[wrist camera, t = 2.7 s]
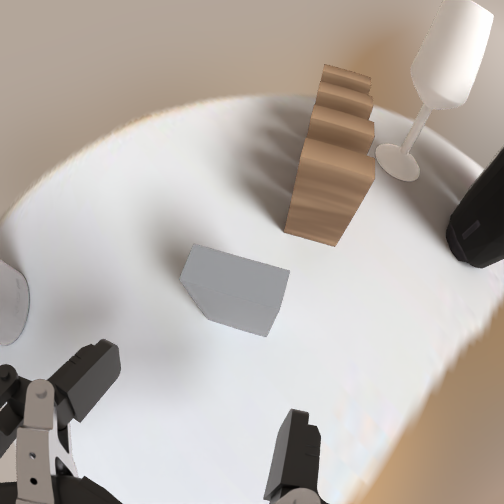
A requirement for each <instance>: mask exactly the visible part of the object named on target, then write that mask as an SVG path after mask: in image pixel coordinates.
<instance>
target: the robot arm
mask: <svg viewBox="0 0 504 504" xmlns="http://www.w3.org/2000/svg"><path fill="white" fill-rule="evenodd" d="M28 310H29V291H28V285H27V283H26V280H25V278H24V276H23V275H22V274H21V273H20V272H19V271H17V270H16V269H14V268H13V267H11V266H10V265H8V264H7V263H5V262H4V261H2V260H1V259H0V344H1V345H9V344H12V343H13V342H14V341H15V340H17V338H18V337H19V336H20V334H21V332H22V330H23V328H24V326H25V323H26V320H27V315H28ZM120 371H121V364H120V357H119V348H118V346H117V345H115V344H113V343H111V342H109V341H107V340H106V339H101V340H100V341H99V342H98V343H97V344H96V345H95V346H94V345H92V344H90V345H88V346H85V347H83V348H81V349H80V350H79V351H78V352H77V353H76V354H75V356H72V357H71V358H70V359H69V361H67V362H66V363H65V364H64V365H63V366H62V367H61V368H60V369H58V370H57V371H56V372H55V373H54V374H53V375H52V376H51V377H50V378H49V379H47V380H44V379H37V380H34V381H30V380H27V379H25V378H23V377H20V376H18V374H17V372H16V370H15V368H14V367H12V366H11V365H7V364H4V365H1V366H0V408H1V407H2V406H3V405H4V404H5V403H6V402H7V404H6V405H5V407H4V408H3V409H2V410H1V411H0V458H1V457H2V456H3V454H4V453H5V452H6V450H7V449H8V448H9V446H10V445H11V444H12V443H13V441H14V440H15V439H16V437H17V441H16V471H17V482H5V483H0V504H122V503H121V502H120V501H119V500H117V499H116V498H115V497H114V496H113V495H112V494H110V493H109V492H108V491H107V490H106V489H105V488H103V487H101V486H100V485H98V484H96V483H95V482H93V481H91V480H90V479H88V478H87V477H85V476H84V477H83V478H82V479H81V478H78V472H77V468H76V465H75V462H74V460H73V455H72V444H71V428H70V421H71V420H72V419H73V418H74V419H76V420H77V421H78V422H80V423H81V421H82V420H83V419H84V418H85V416H86V415H87V414H88V413H89V412H90V410H91V409H92V408H93V407H94V406H95V404H96V403H97V402H98V401H99V400H100V398H101V397H102V396H103V395H104V394H105V392H106V391H107V390H108V389H109V388H110V386H111V385H112V384H113V383H114V382H115V381H116V379H117V378H118V376H119V374H120ZM308 420H309V413H308V412H305V411H300V410H295V409H291V410H290V411H289V413H288V415H287V417H286V418H285V420H284V422H283V423H282V425H281V427H280V429H279V432H278V435H277V439H276V444H275V449H274V454H273V459H272V463H271V468H270V473H269V477H268V481H267V486H266V490H265V494H264V498H263V499H264V500H269V501H270V503H269V504H328V503H326V502H325V501H324V500H322V499H321V497H320V496H319V494H318V491H317V481H318V470H319V458H320V457H319V456H320V444H321V435H320V433H319V430H318V428H317V426H314V425H308Z"/></svg>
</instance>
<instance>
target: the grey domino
mask: <svg viewBox="0 0 504 504" xmlns="http://www.w3.org/2000/svg"><path fill="white" fill-rule="evenodd" d="M289 274H290V271H289V270H286V269H282V268H279V267H275V266H271V265H268V264H264V263H261V262H257V261H253V260H250V259H246V258H243V257H239V256H236V255H232V254H229V253H225V252H222V251H218V250H214V249H211V248H207V247H204V246H200V245H197V244H193V247H192V249H191V251H190V254H189V256H188V259H187V261H186V263H185V266H184V268H183V271H182V273H181V275H180V278H179V280H180V281H181V283H182V284H183V286H184V287H185V288H186V290H187V291H188V293H189V294H190V296H191V297H192V298H193V300H194V301H195V303H196V304H197V305H198V307H199V308H200V309H201V311H202V312H203V314H204V315H205V316H206V318H207V319H208V320H211V321H214V322H217V323H220V324H224V325H227V326H230V327H233V328H236V329H240V330H243V331H246V332H250V333H253V334H257V335H260V336H264V337H267V335H268V333H269V331H270V329H271V327H272V325H273V323H274V321H275V318H276V316H277V314H278V312H279V310H280V307H281V303H282V299H283V296H284V292H285V288H286V285H287V281H288V277H289Z"/></svg>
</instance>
